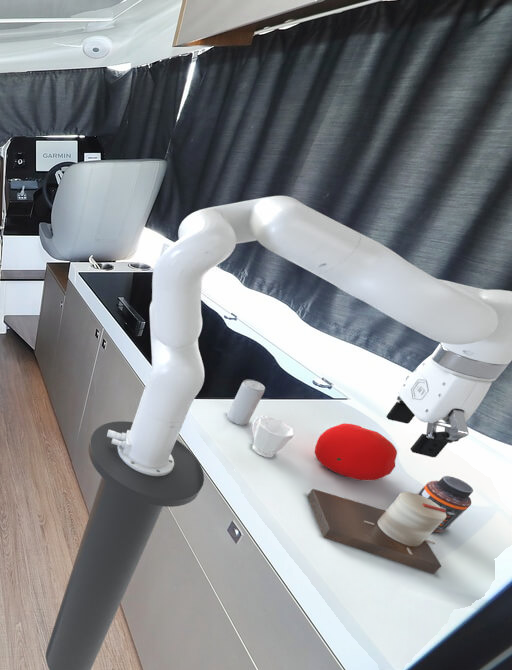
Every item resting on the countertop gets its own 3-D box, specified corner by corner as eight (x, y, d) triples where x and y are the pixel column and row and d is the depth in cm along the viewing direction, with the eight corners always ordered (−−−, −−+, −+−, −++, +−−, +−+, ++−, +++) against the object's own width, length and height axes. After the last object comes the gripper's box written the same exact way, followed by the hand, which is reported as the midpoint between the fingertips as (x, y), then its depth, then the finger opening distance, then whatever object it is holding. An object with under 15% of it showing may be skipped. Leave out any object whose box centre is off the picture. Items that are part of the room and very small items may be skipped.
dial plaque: (323, 537, 83) (329, 529, 82) (307, 496, 92) (312, 488, 91) (442, 577, 77) (451, 568, 75) (412, 528, 85) (420, 520, 84)
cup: (254, 459, 101) (267, 434, 98) (234, 430, 110) (246, 407, 106) (286, 463, 100) (301, 439, 96) (264, 434, 109) (277, 410, 105)
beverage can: (249, 420, 114) (267, 385, 108) (245, 428, 111) (263, 393, 105) (228, 411, 117) (245, 377, 111) (224, 419, 114) (241, 384, 108)
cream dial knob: (384, 538, 81) (409, 510, 77) (372, 513, 85) (394, 486, 81) (427, 551, 78) (455, 523, 74) (411, 526, 83) (437, 498, 79)
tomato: (322, 488, 98) (365, 479, 100) (383, 480, 87) (430, 471, 89) (291, 434, 103) (333, 427, 106) (344, 420, 92) (389, 413, 95)
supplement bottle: (403, 520, 87) (436, 483, 82) (402, 503, 91) (433, 466, 85) (446, 539, 83) (483, 501, 78) (443, 520, 87) (478, 483, 82)
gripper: (411, 333, 79) (364, 404, 87) (465, 382, 65) (403, 460, 73) (467, 343, 76) (413, 415, 84) (536, 396, 62) (463, 476, 70)
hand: (408, 436), depth 79 cm, fingers open, 9 cm apart
